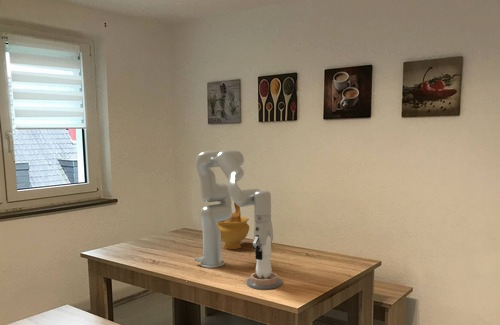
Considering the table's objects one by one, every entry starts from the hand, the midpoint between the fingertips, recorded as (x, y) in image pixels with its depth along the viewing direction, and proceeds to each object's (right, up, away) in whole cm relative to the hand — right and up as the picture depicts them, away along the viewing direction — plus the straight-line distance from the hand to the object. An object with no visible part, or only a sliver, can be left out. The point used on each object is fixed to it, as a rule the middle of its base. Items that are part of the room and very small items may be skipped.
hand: (263, 256), depth 181 cm
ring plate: (0, -12, 0) cm, 12 cm away
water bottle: (0, -9, 0) cm, 10 cm away
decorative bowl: (-17, -9, +66) cm, 68 cm away
